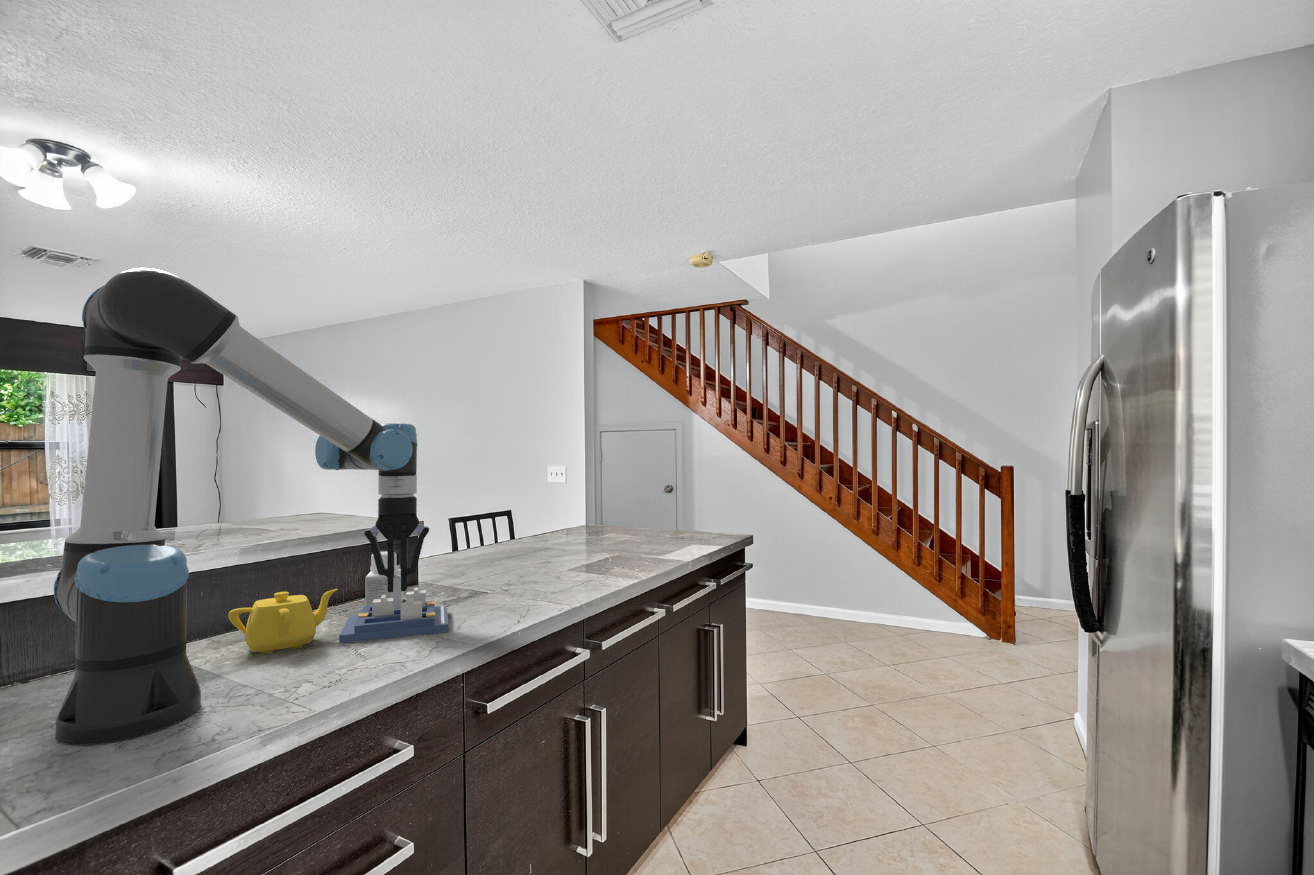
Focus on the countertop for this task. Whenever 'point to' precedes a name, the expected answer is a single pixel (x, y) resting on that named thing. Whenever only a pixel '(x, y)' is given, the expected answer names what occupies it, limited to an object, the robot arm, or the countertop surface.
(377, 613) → the gray studded block
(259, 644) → the teapot
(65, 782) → the countertop surface
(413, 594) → the grey studded block
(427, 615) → the blue divided tray
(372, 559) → the container
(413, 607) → the grey studded block
